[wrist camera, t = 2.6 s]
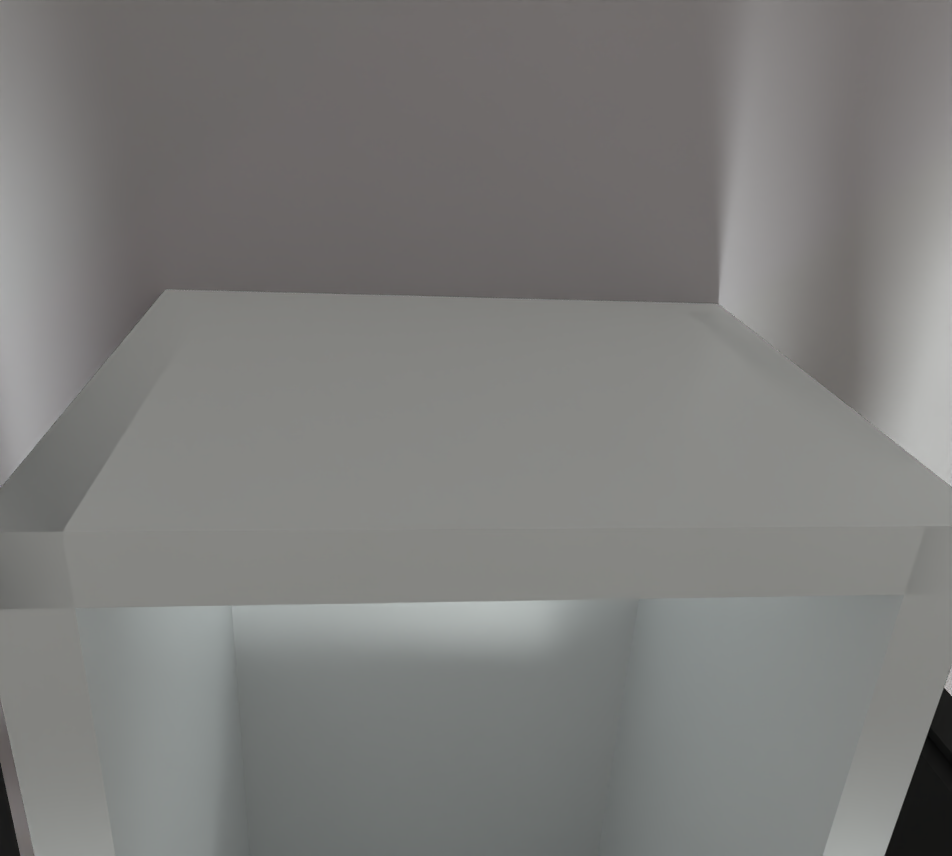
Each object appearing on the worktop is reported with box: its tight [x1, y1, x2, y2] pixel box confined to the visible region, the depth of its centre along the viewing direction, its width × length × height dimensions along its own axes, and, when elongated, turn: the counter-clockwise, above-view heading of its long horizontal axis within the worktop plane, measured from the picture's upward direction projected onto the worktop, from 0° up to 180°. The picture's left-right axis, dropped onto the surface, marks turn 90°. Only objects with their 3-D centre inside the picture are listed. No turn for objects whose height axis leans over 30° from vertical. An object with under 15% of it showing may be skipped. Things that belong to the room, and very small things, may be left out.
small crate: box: [0, 289, 952, 856], centre depth 9 cm, size 9×6×5 cm, turn 177°
